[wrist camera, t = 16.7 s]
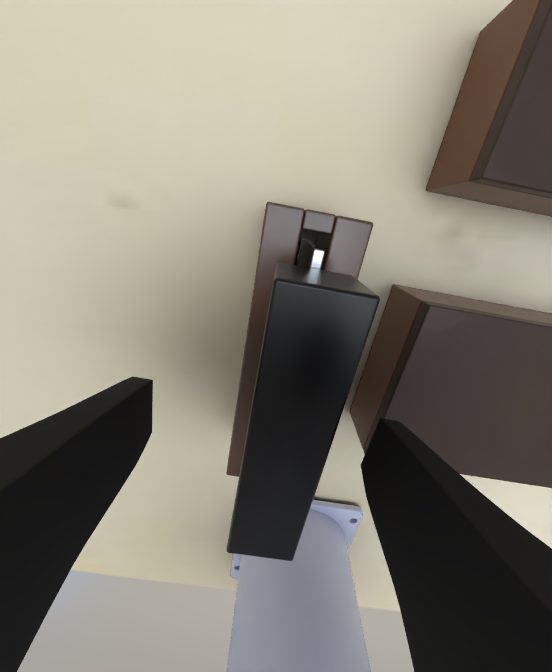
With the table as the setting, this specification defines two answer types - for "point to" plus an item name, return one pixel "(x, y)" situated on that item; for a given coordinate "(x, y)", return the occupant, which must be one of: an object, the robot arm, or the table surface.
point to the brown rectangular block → (504, 116)
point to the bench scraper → (297, 400)
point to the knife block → (276, 246)
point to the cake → (463, 383)
